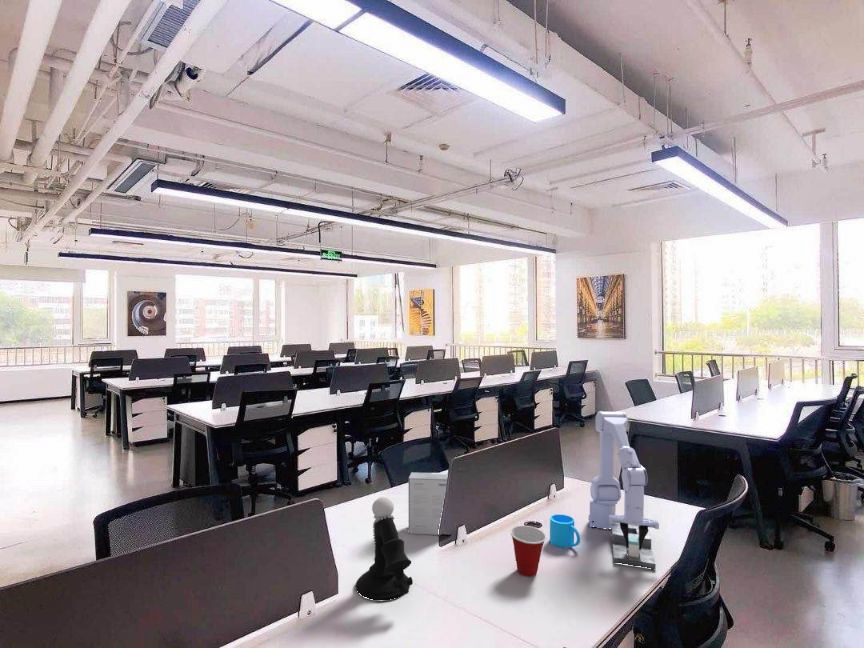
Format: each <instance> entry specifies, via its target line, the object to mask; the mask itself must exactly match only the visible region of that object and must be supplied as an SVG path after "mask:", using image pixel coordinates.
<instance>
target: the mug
mask: <svg viewBox="0 0 864 648" xmlns="http://www.w3.org/2000/svg"><path fill="white" fill-rule="evenodd" d="M575 537H576V541H575ZM550 542H551V543H552V544H553V545H552V544H551V543H550ZM549 543H550V544H551V545H552V546H554V545H556V546H555V547H557V546H559V547H558V548H561V547H569V548H571V547H570V546H572V547H577V546H579V544H580V543H581V535H580V532H579V530H578V529H577V528H576V526H575V519H574V517H572V516H570V515H566V514H563V513H562V514H561V513H560V514H557V513H556V514H552V515H550V516H549Z"/></svg>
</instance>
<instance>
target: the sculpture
mask: <svg viewBox="0 0 864 648" xmlns="http://www.w3.org/2000/svg"><path fill="white" fill-rule="evenodd" d="M371 506H372V507H371V511H372V514H373V515H374V516H373V519H375V520H374V521H373V524H372V528H373V530H372V531H373V532H372V534H373V535H372V536H373V542H374V558H373V560H374V563H373V564H371V565H370V567H369V569H368V570H367V571H365V572H364V573H362V575H360V576H359V577H358V579H357V580H356V583H355V590H357V591H358V593H360V594H361V595H362V596H364V597H367V598H369V599H373V600H389V601H391V600H390V599H394V598H397V599H399V598H401V597H403V596H405V595H407V594H408V593H409V592H410V588H411V586H412V585H413V577H412V576H410V577H408V575H406V574H405V570H406V569H407V568H409V566H411V564H412V560H411V559H410V558H408V556H407V554H406V553H405V541H404V539H402V538H401V539H400V537H399V532H398V530H397V527H396V524H395V521H394V520H395V517H394V515H393V512H394V508H395V507H394V502H393V501H392V500H391V499H390V498H388V497H379V498H377V499H376V500H374V502H373V503H372V505H371ZM357 591H356V592H357ZM358 593H357V594H358ZM398 597H399V598H398ZM394 600H395V599H394Z"/></svg>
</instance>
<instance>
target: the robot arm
mask: <svg viewBox="0 0 864 648" xmlns="http://www.w3.org/2000/svg"><path fill="white" fill-rule="evenodd" d="M628 422H629V419H628V415H627V414H626V412H625V411H601V410H599V411H598V412H597V413H596V414H595V431H596V432H598V433H599V474H597V476H595V477H593V478H592V479H591V484H590V490H589V491H590V497H591V499H589V514H588V520H589V526H590V527H589V528H591V527H593V526H594V527H597V528H596V529H598V528H606V529H609V528H611V529H612V523H618V524H620V528H621V530H622V533H623V535H624V538H625V542H626V548H629V542H628V533H629V529H628V525H632V526H639V539H638V540H639V550H641V546H642V543H643V540H644V538H645V536H646V535H647V533H648V529H649V528H650V529H651V528H653V529H655V530H659V529H660V522H659V520H654V519H650V518H646V517H644V511H645V509H644V508H645V507H644V506H645V487H646V486H647V485H648V479H649V478H648V473H647V470H646V468H645V467H643V465H642V464H640V461H639V458H638V456H637V454H636V453H637V452H636V451H635V449H634V448H633V447H631V446H630V443H629V438H628V434H627V428H628V425H629V424H628ZM615 444H616V446H617V448H618V451H617V454H616V455H617V458H618V461H619V465H620V467H621V470H622V471H621V480H622V488H623V490H624V508H623V509H624V511H623V513H624V514H623V515H622V514H621V515H620V514H619V515H617V514H616V506H617V504H618V502H620V500H621V498H622V492H621V484H620V483H621V482H620V481H619V480H618V479H617V477H614V457H615V456H614V455H615V454H614V453H615V452H614V447H615V446H614V445H615ZM606 529H605V530H606Z"/></svg>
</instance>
